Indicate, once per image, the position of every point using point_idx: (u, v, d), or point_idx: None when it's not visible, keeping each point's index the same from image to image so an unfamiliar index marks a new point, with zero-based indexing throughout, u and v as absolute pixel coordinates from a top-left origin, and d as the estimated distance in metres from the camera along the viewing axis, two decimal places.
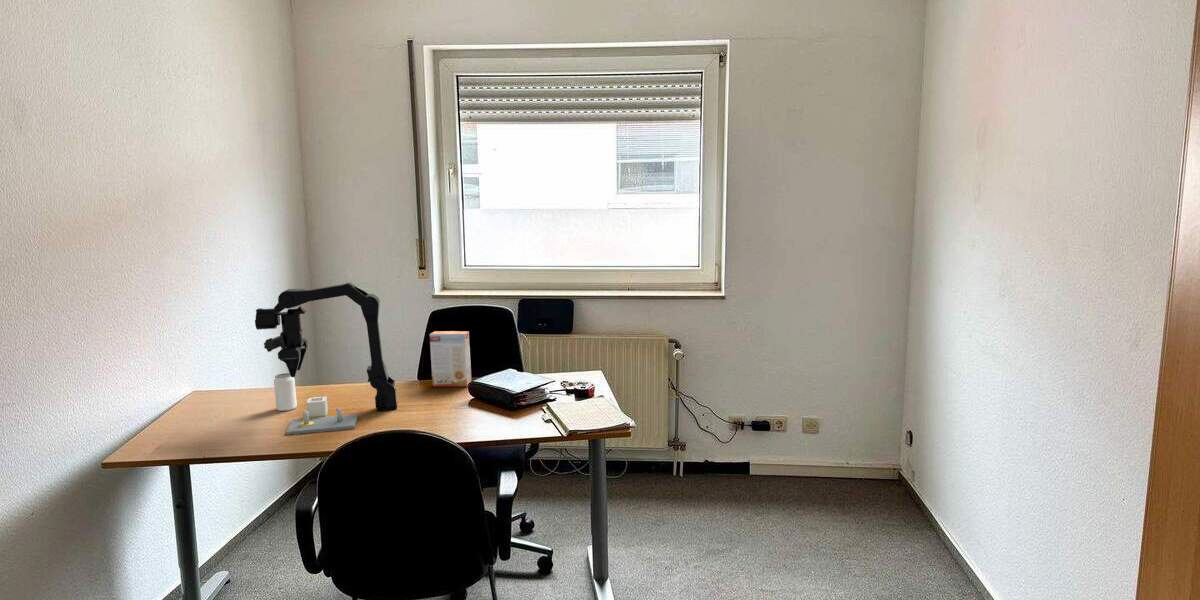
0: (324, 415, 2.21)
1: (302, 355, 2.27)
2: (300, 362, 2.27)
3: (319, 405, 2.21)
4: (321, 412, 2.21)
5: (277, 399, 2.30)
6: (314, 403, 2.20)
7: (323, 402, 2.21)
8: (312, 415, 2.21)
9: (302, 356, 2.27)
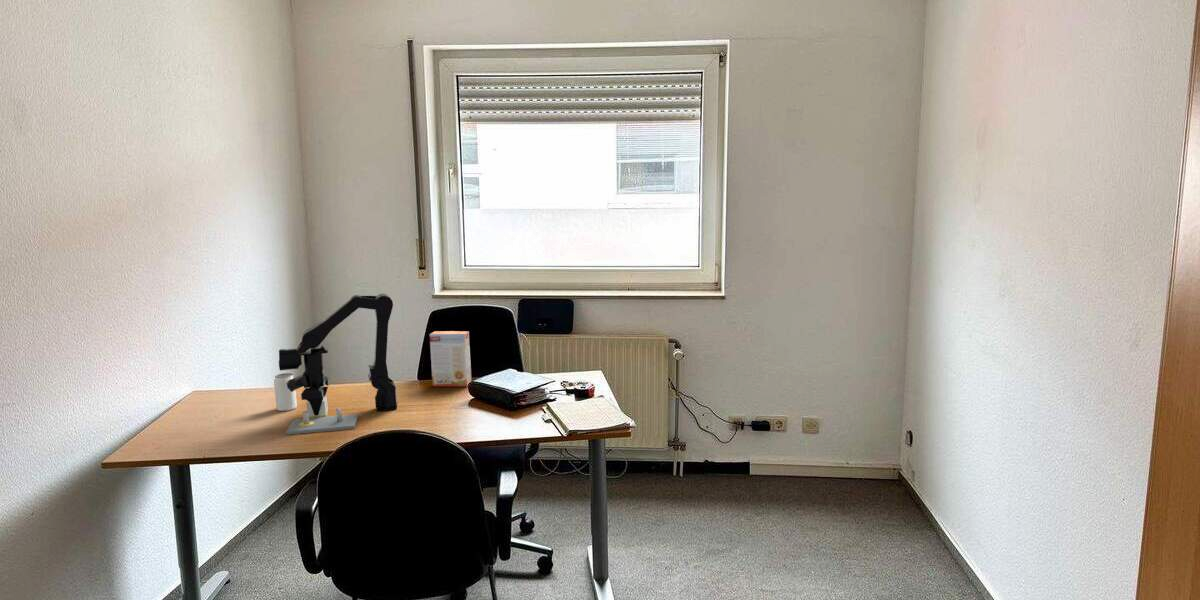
0: (324, 415, 2.21)
1: (323, 394, 2.26)
2: None
3: None
4: (321, 412, 2.21)
5: (277, 399, 2.30)
6: None
7: (323, 402, 2.21)
8: (312, 415, 2.21)
9: (323, 395, 2.26)
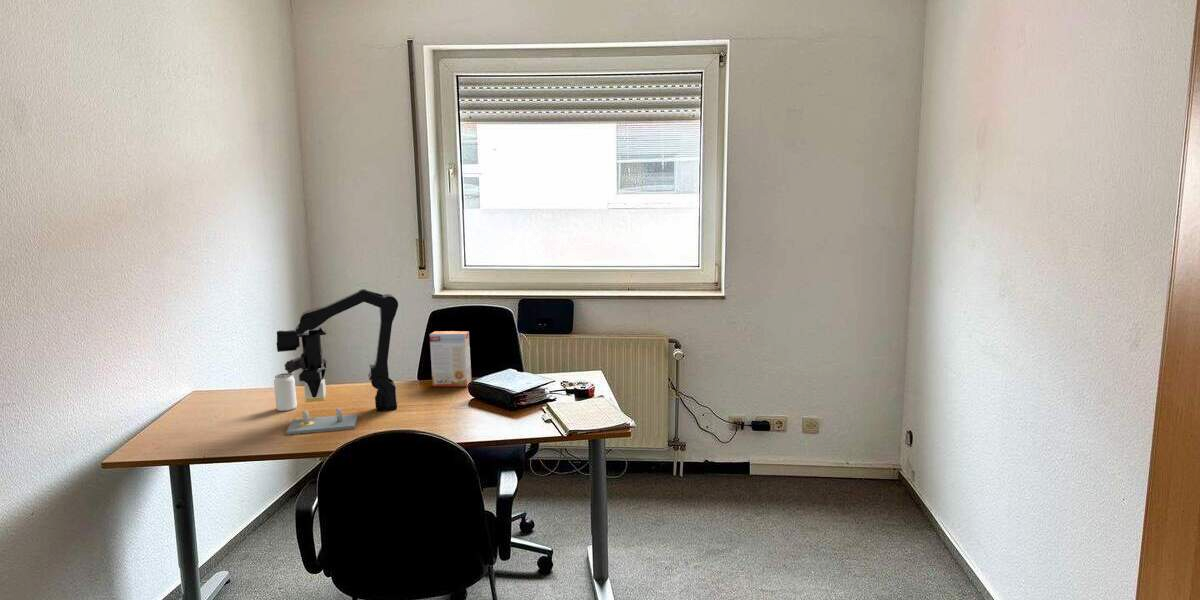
0: (322, 397, 2.21)
1: (321, 377, 2.25)
2: None
3: None
4: (319, 394, 2.20)
5: (277, 399, 2.30)
6: None
7: (321, 384, 2.20)
8: (310, 397, 2.20)
9: (321, 378, 2.25)
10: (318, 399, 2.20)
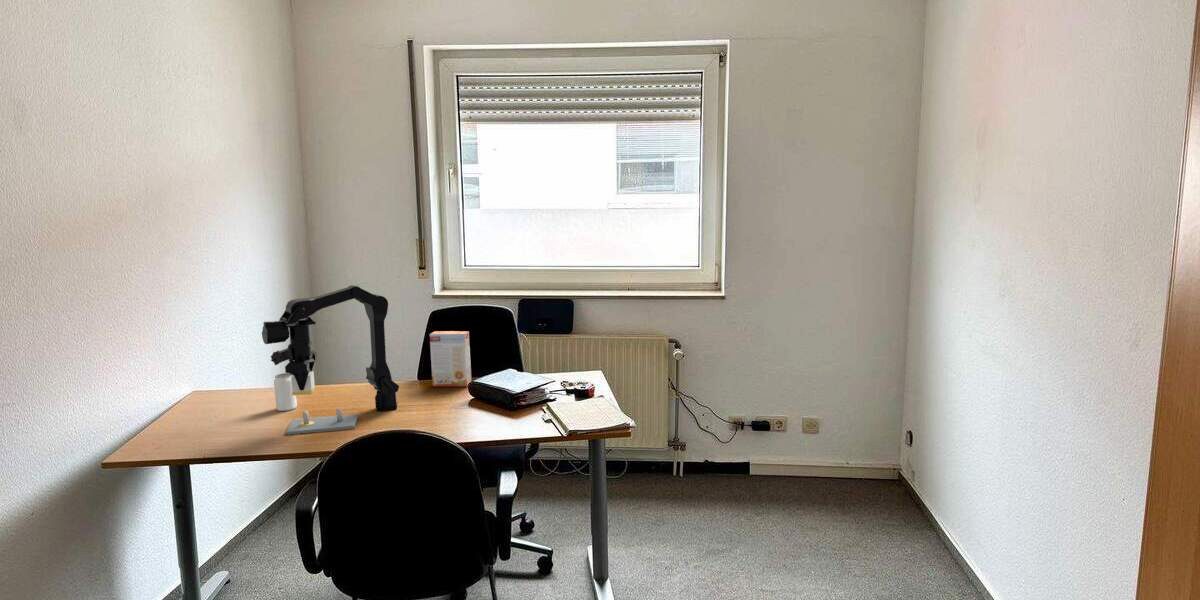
0: (310, 390, 2.11)
1: (310, 369, 2.15)
2: None
3: None
4: (307, 387, 2.10)
5: (277, 399, 2.30)
6: None
7: (309, 377, 2.10)
8: (297, 390, 2.10)
9: (310, 370, 2.15)
10: (305, 392, 2.10)
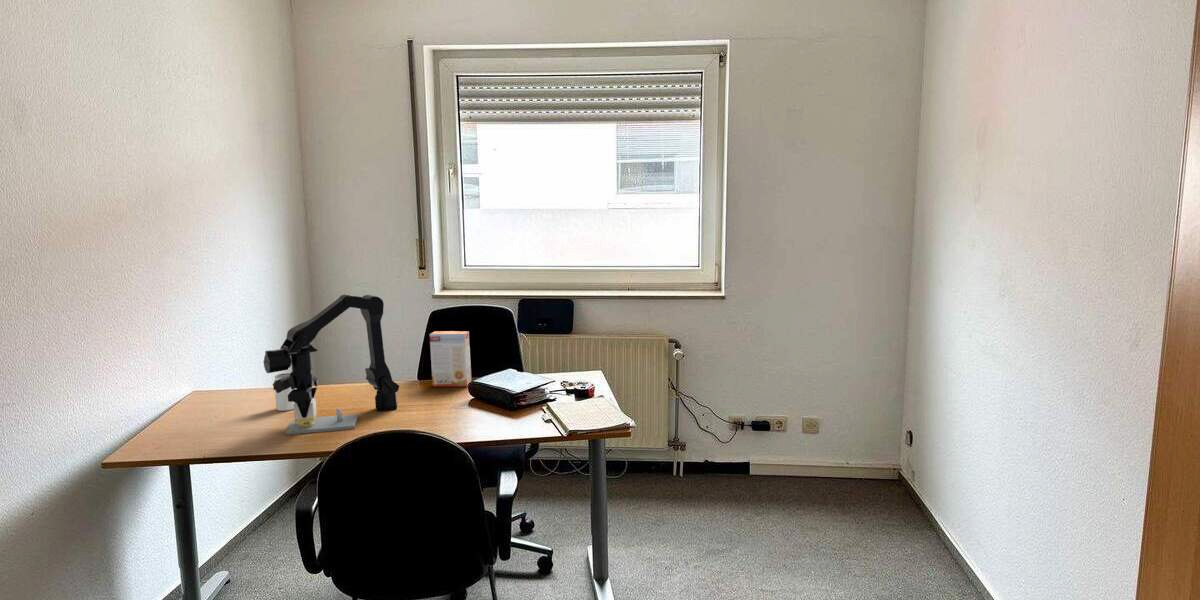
0: (312, 417, 2.11)
1: (312, 396, 2.16)
2: None
3: None
4: (309, 414, 2.11)
5: (277, 399, 2.30)
6: None
7: (311, 404, 2.10)
8: (299, 417, 2.10)
9: (312, 397, 2.16)
10: (308, 419, 2.11)
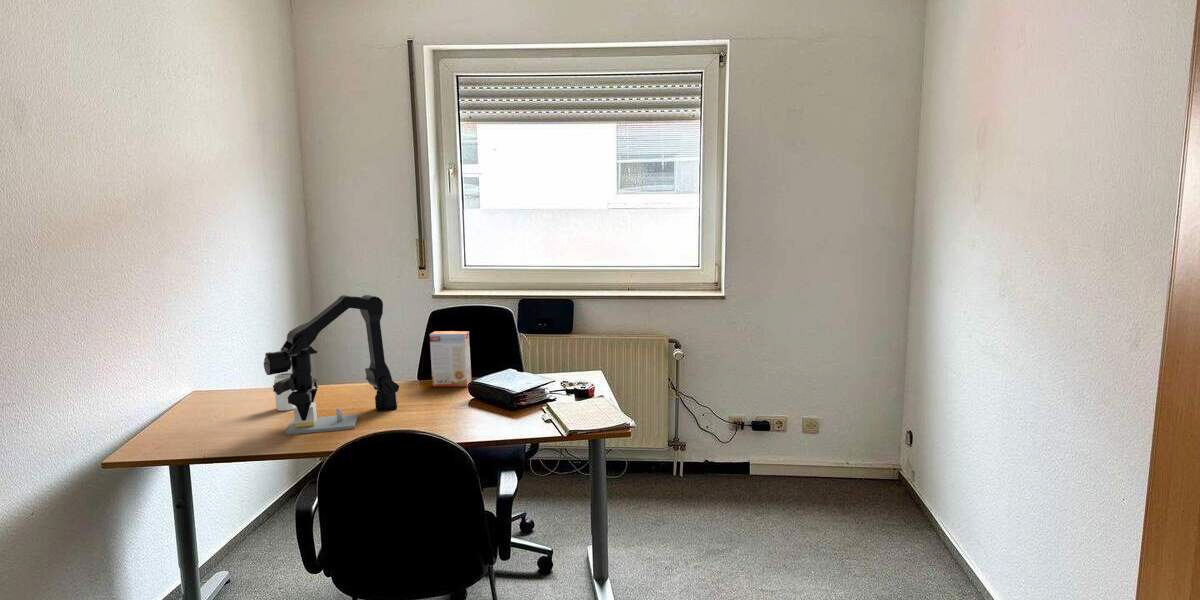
0: (312, 422, 2.11)
1: (312, 397, 2.17)
2: None
3: None
4: (310, 418, 2.11)
5: (277, 399, 2.30)
6: None
7: (311, 408, 2.11)
8: (300, 422, 2.10)
9: (312, 398, 2.17)
10: (308, 424, 2.11)
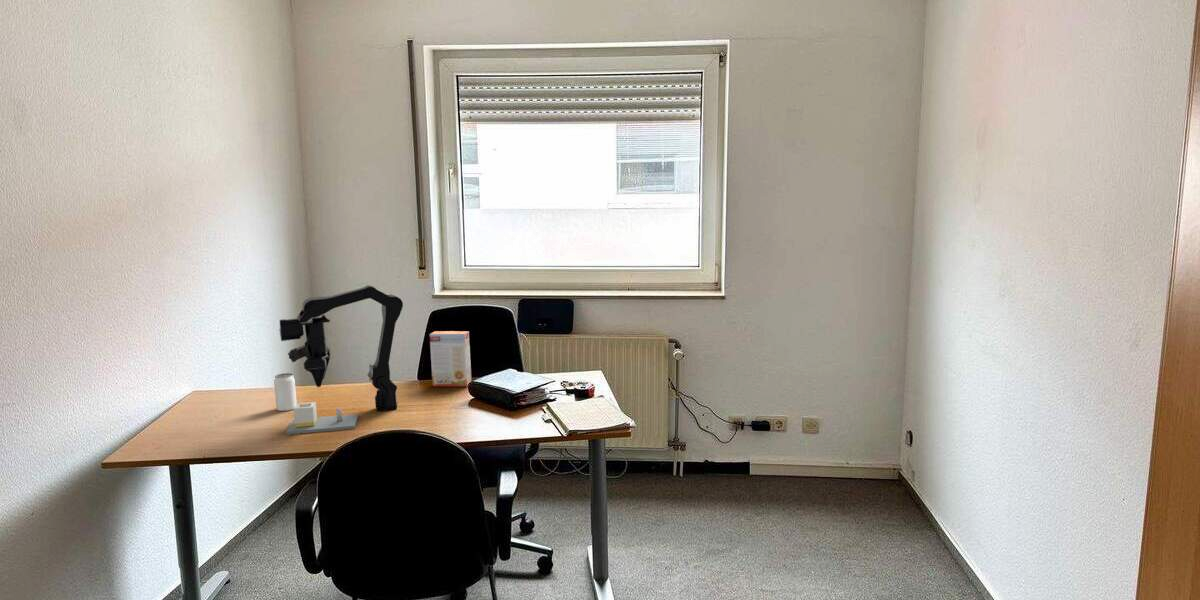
0: (312, 422, 2.11)
1: (326, 364, 2.25)
2: None
3: (307, 411, 2.10)
4: (310, 418, 2.11)
5: (277, 399, 2.30)
6: (302, 409, 2.10)
7: (311, 408, 2.11)
8: (300, 422, 2.10)
9: (326, 365, 2.25)
10: (308, 424, 2.11)
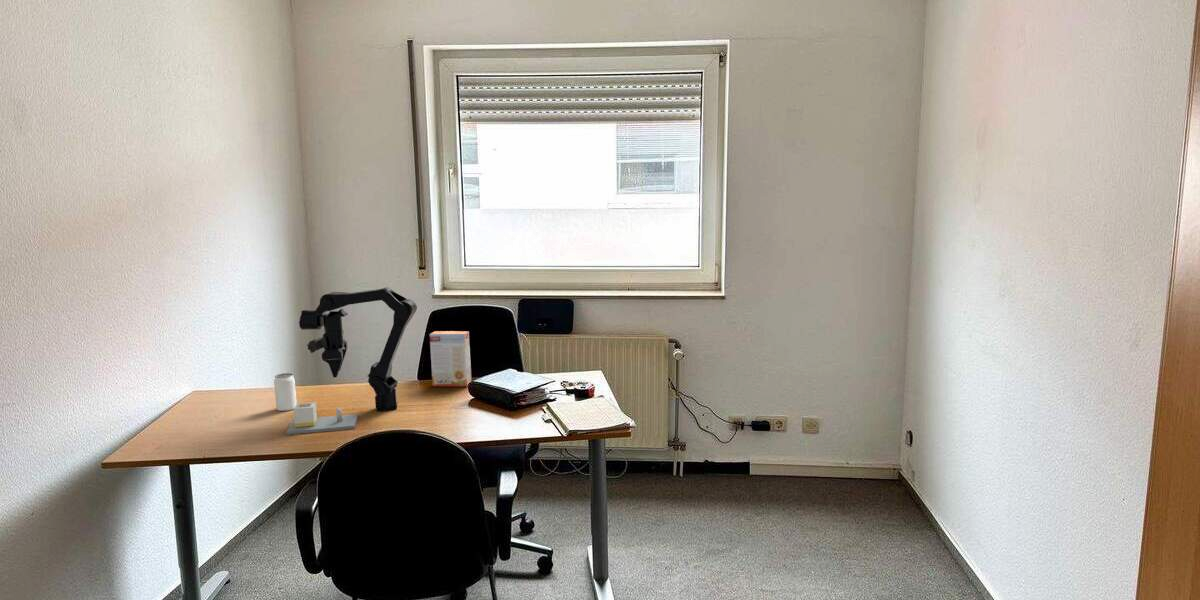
0: (312, 422, 2.11)
1: (342, 356, 2.34)
2: (340, 363, 2.34)
3: (307, 411, 2.10)
4: (310, 418, 2.11)
5: (277, 399, 2.30)
6: (302, 409, 2.10)
7: (311, 408, 2.11)
8: (300, 422, 2.10)
9: (342, 357, 2.34)
10: (308, 424, 2.11)
